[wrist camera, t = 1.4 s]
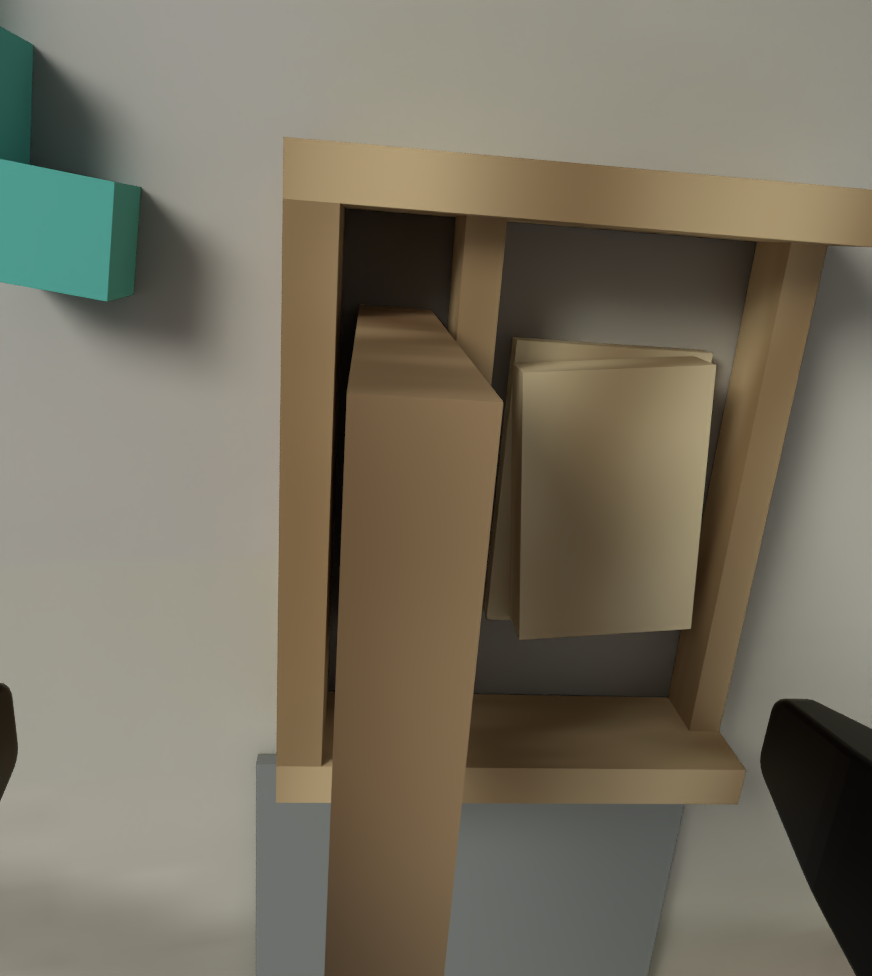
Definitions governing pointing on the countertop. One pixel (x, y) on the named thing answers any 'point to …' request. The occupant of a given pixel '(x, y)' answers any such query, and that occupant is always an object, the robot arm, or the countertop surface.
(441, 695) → the wooden block
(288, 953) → the mat
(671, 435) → the offcut upper
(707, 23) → the countertop surface
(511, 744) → the rack
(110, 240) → the alien figure
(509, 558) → the offcut lower
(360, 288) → the countertop surface
